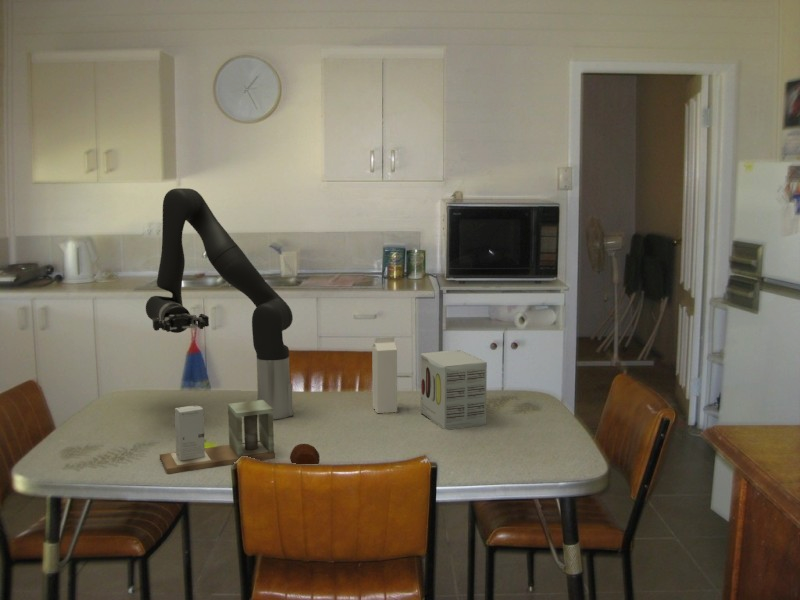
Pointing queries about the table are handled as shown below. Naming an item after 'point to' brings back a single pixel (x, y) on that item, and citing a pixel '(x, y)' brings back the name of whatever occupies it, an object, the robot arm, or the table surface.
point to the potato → (304, 454)
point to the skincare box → (189, 432)
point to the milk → (384, 375)
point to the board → (234, 439)
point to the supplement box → (453, 389)
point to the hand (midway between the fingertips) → (185, 326)
